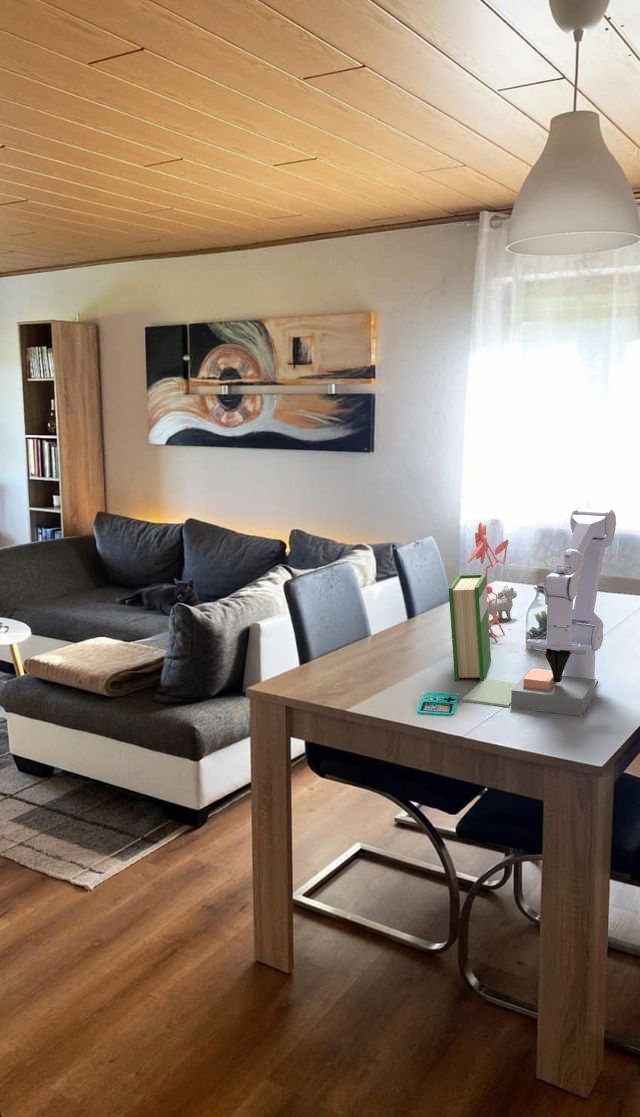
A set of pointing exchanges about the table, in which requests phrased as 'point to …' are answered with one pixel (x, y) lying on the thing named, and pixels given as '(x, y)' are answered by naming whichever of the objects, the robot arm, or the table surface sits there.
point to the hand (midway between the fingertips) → (557, 681)
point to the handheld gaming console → (438, 703)
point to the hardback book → (470, 626)
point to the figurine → (480, 551)
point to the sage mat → (491, 693)
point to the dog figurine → (503, 602)
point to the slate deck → (556, 696)
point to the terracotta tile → (539, 679)
